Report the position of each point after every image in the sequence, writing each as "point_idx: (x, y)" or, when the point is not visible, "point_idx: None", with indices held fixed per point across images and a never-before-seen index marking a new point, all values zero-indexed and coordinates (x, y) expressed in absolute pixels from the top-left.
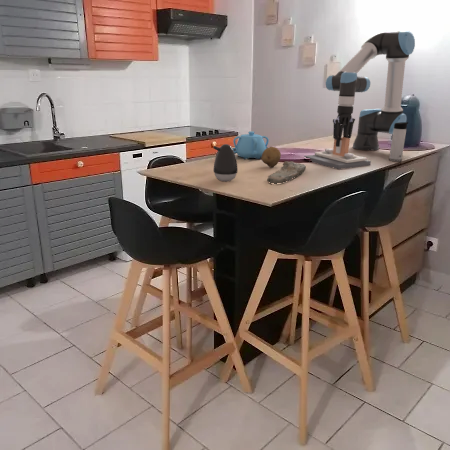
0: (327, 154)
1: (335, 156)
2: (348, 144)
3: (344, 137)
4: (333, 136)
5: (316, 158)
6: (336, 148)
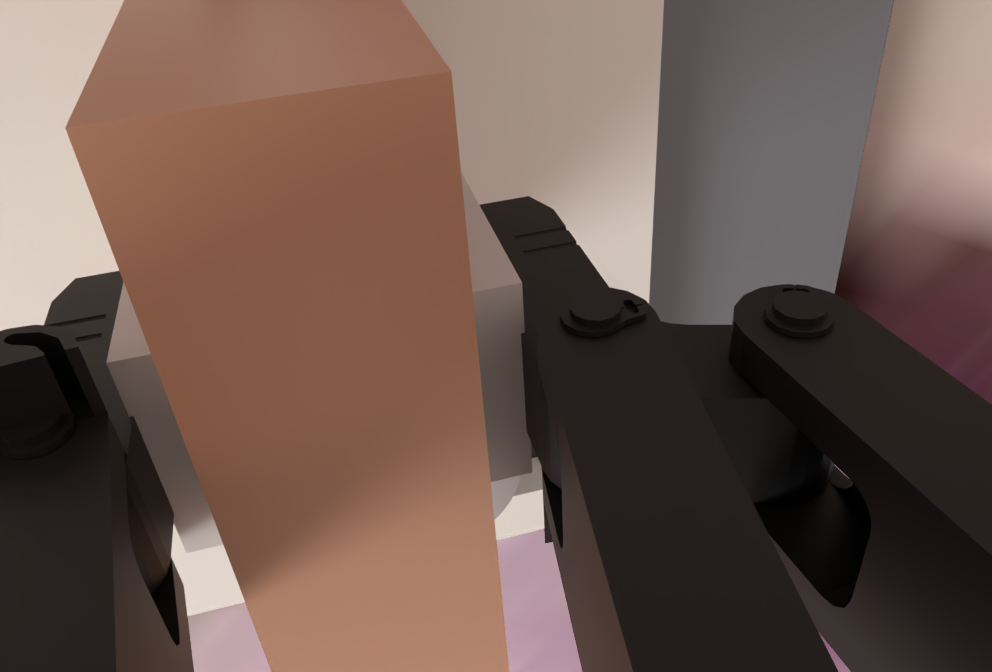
0: None
1: (553, 27)
2: (167, 12)
3: (227, 494)
4: (852, 508)
5: (804, 226)
6: None
